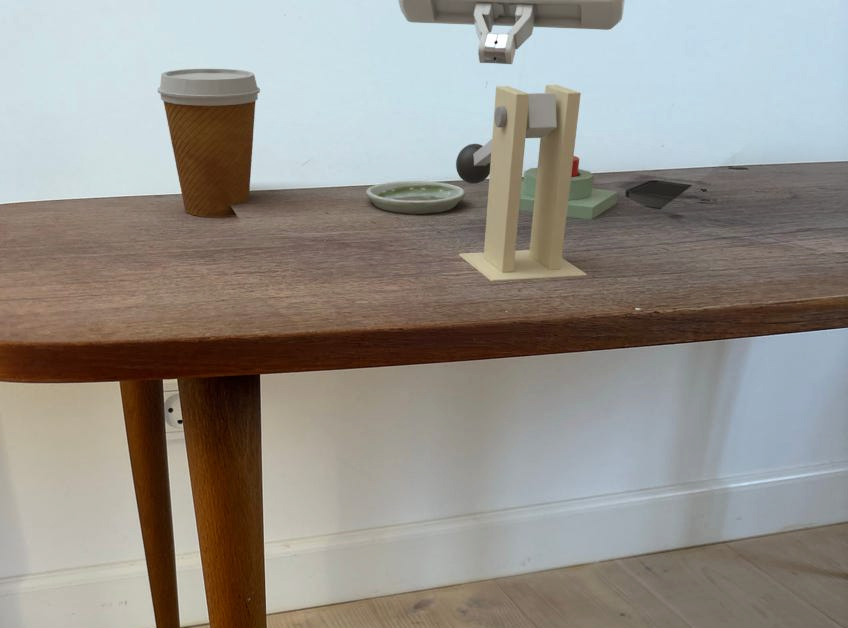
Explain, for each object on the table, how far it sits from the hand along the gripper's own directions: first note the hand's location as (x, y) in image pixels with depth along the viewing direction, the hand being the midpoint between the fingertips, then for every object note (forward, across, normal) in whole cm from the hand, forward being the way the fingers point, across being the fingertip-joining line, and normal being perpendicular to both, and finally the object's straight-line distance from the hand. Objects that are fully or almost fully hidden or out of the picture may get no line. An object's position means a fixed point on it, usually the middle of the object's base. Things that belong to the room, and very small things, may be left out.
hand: (494, 58), depth 92 cm
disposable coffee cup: (+12, -26, +8) cm, 30 cm away
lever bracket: (+22, +7, -2) cm, 23 cm away
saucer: (+9, -7, +12) cm, 16 cm away
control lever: (+13, +4, -3) cm, 13 cm away
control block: (+5, +6, +15) cm, 17 cm away
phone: (-2, +20, +22) cm, 29 cm away
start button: (+3, +6, +12) cm, 14 cm away
